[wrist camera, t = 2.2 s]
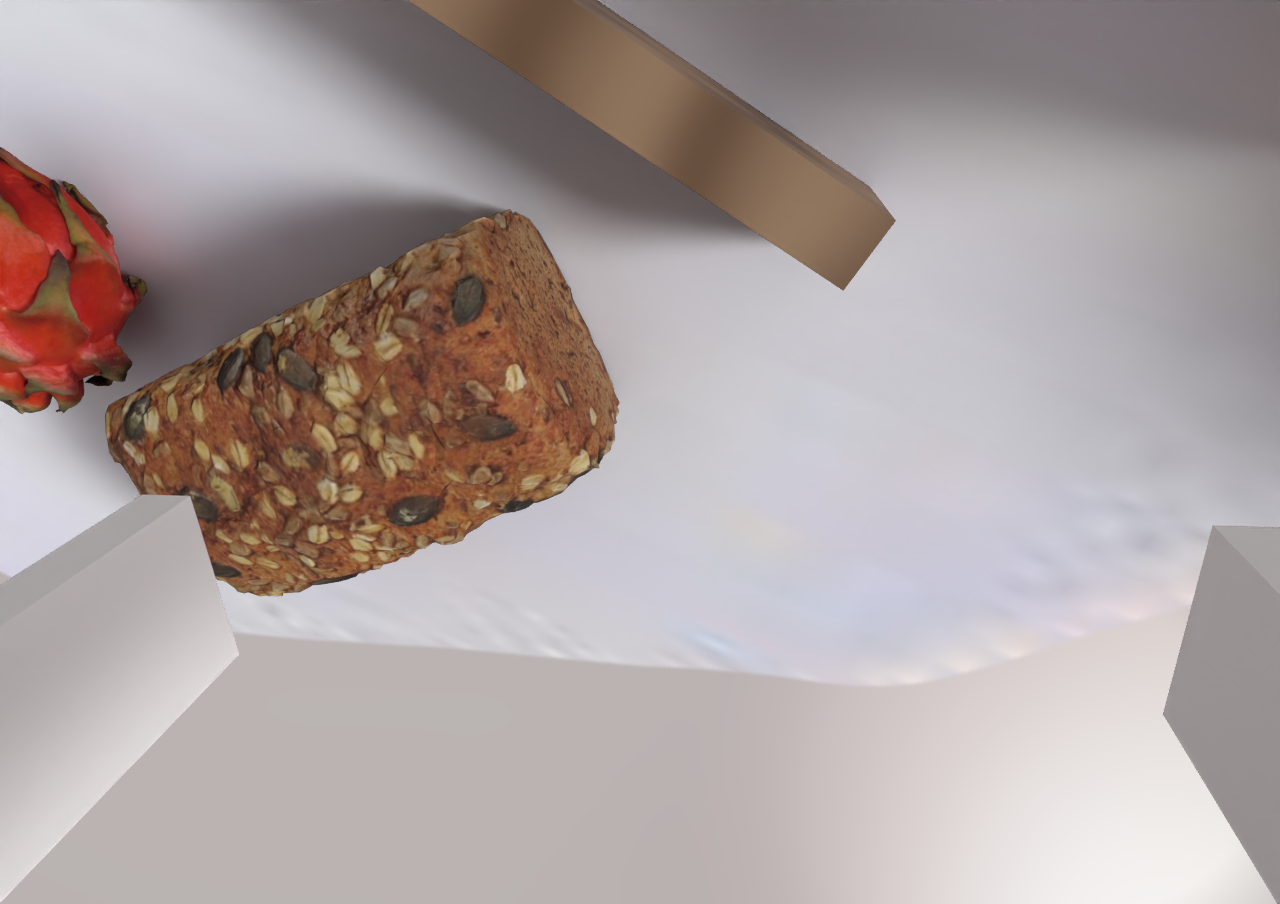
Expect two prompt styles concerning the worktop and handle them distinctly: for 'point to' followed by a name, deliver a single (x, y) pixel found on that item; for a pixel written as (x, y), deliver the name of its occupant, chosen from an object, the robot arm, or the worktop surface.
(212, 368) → the bread
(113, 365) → the dragon fruit
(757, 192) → the walnut board
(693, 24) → the worktop surface
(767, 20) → the worktop surface
